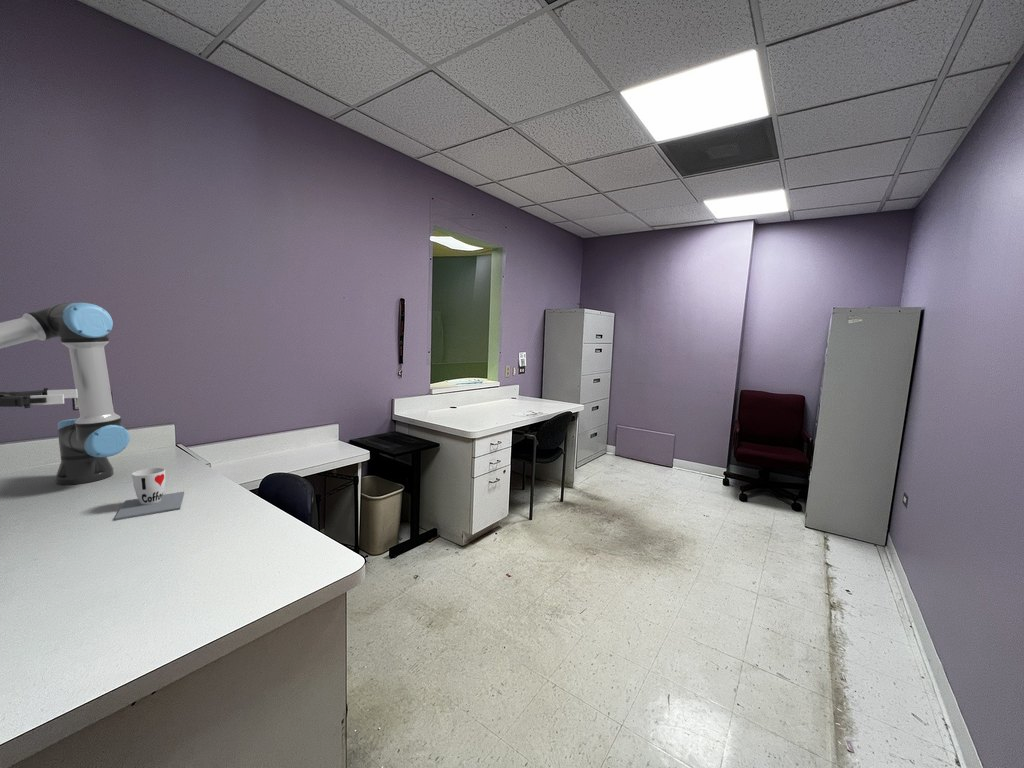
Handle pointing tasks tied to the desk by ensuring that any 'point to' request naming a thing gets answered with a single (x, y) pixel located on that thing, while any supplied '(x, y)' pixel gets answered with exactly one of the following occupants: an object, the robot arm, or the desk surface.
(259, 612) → the desk surface
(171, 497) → the mat
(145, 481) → the cup
